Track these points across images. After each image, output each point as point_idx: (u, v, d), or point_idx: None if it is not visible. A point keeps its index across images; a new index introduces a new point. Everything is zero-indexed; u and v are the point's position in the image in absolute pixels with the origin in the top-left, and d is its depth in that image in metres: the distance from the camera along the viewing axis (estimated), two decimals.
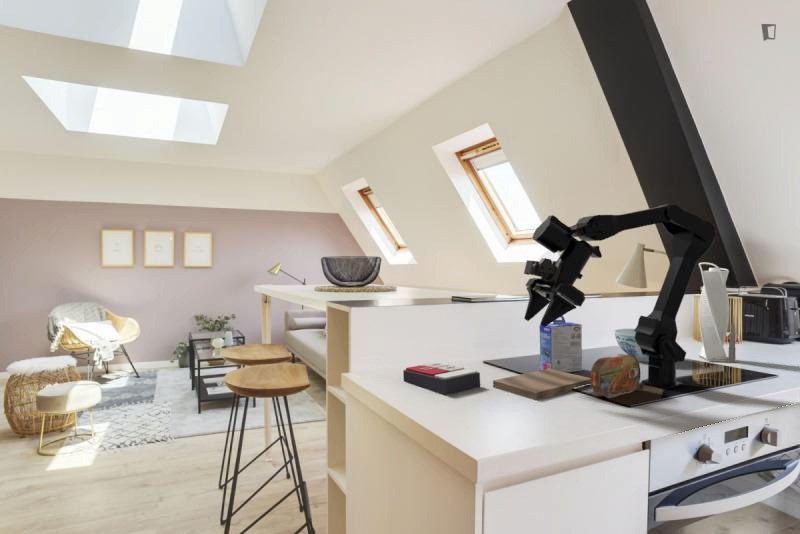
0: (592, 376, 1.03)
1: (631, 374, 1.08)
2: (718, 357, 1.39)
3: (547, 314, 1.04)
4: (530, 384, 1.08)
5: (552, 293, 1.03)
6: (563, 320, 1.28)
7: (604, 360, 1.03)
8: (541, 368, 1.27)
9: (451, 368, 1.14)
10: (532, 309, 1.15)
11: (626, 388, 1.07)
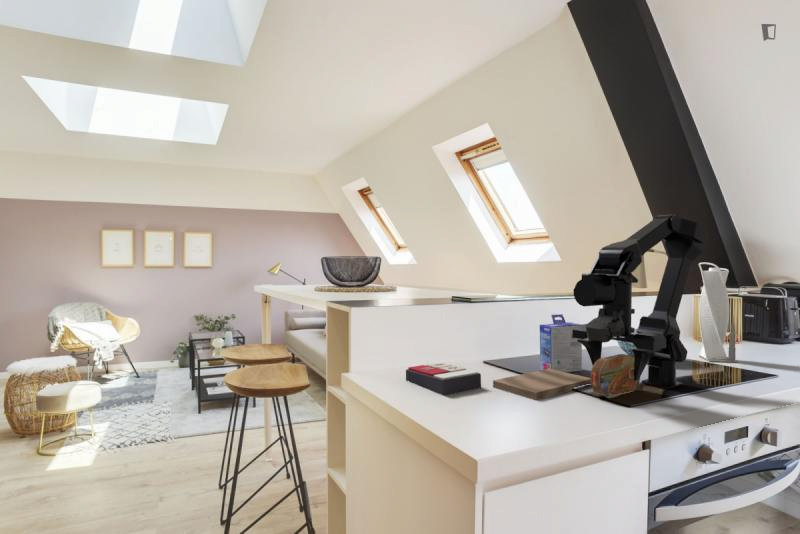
0: (592, 376, 1.03)
1: (631, 374, 1.08)
2: (718, 357, 1.39)
3: (639, 369, 1.01)
4: (530, 384, 1.08)
5: (640, 351, 0.99)
6: (563, 320, 1.28)
7: (604, 360, 1.03)
8: (541, 368, 1.27)
9: (453, 368, 1.14)
10: (597, 358, 1.10)
11: (626, 388, 1.07)
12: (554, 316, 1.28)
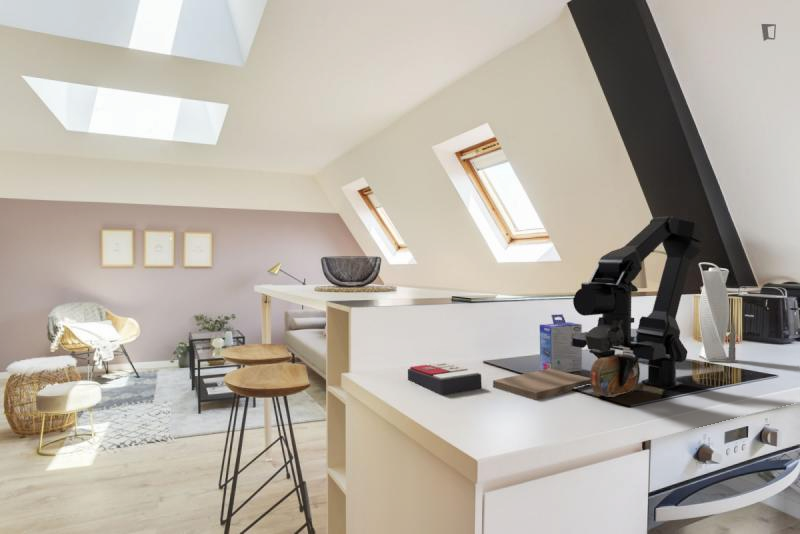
0: (592, 376, 1.03)
1: (631, 374, 1.08)
2: (718, 357, 1.39)
3: (624, 375, 1.04)
4: (530, 384, 1.08)
5: (625, 358, 1.01)
6: (563, 320, 1.28)
7: (604, 360, 1.03)
8: (541, 368, 1.27)
9: (454, 369, 1.14)
10: None
11: (626, 388, 1.07)
12: (554, 316, 1.28)
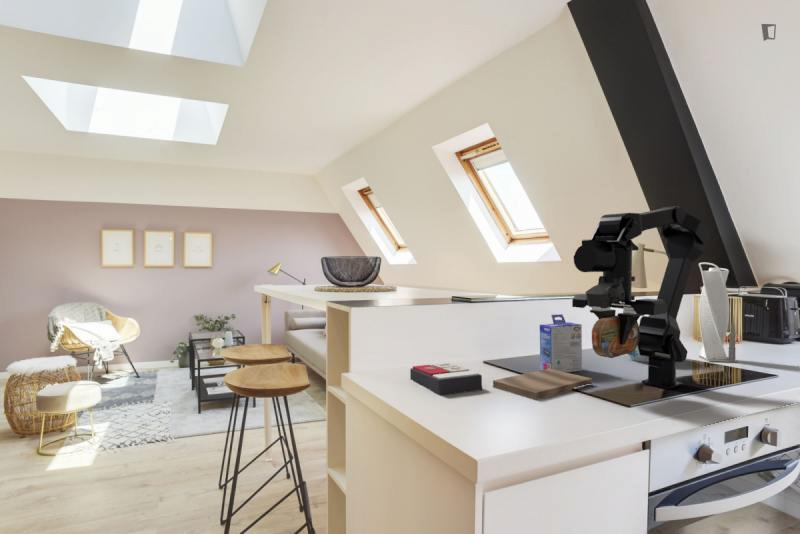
0: (593, 336, 1.02)
1: (631, 334, 1.08)
2: (718, 357, 1.39)
3: (624, 333, 1.04)
4: (530, 384, 1.08)
5: (625, 315, 1.01)
6: (563, 320, 1.28)
7: (605, 320, 1.03)
8: (541, 368, 1.27)
9: (455, 369, 1.14)
10: None
11: (626, 348, 1.07)
12: (554, 316, 1.28)
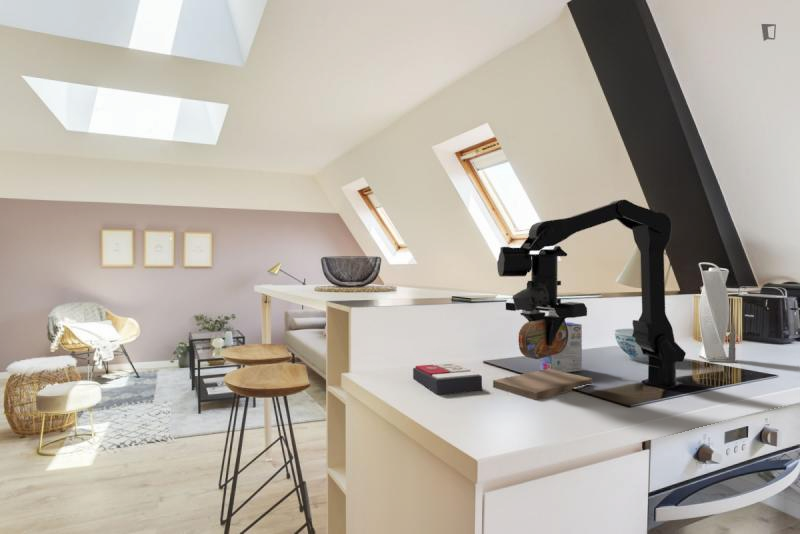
0: (519, 338, 1.08)
1: (559, 336, 1.14)
2: (718, 357, 1.39)
3: (550, 335, 1.10)
4: (530, 384, 1.08)
5: (549, 318, 1.07)
6: None
7: (531, 323, 1.09)
8: (541, 368, 1.27)
9: (456, 369, 1.13)
10: None
11: (554, 350, 1.13)
12: None
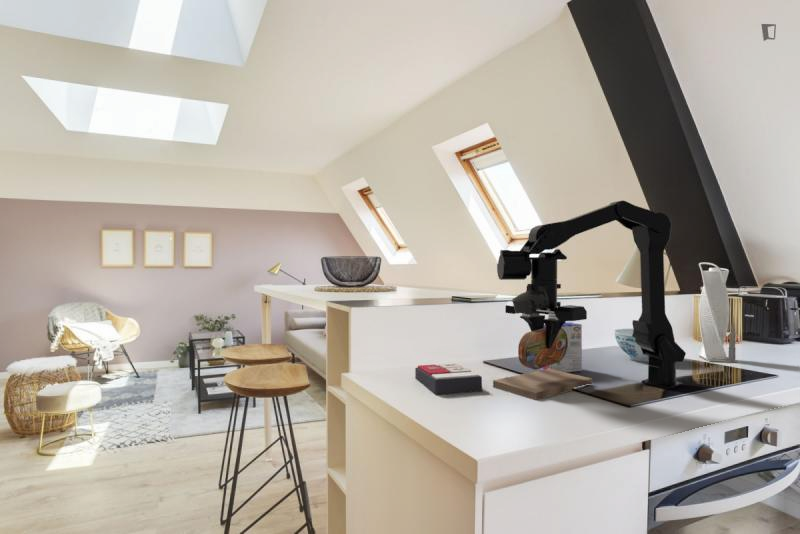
0: (519, 349, 1.08)
1: (559, 345, 1.14)
2: (718, 357, 1.39)
3: (550, 338, 1.10)
4: (530, 384, 1.08)
5: (549, 321, 1.07)
6: None
7: (531, 334, 1.09)
8: (541, 368, 1.27)
9: (457, 370, 1.13)
10: None
11: (553, 359, 1.13)
12: None
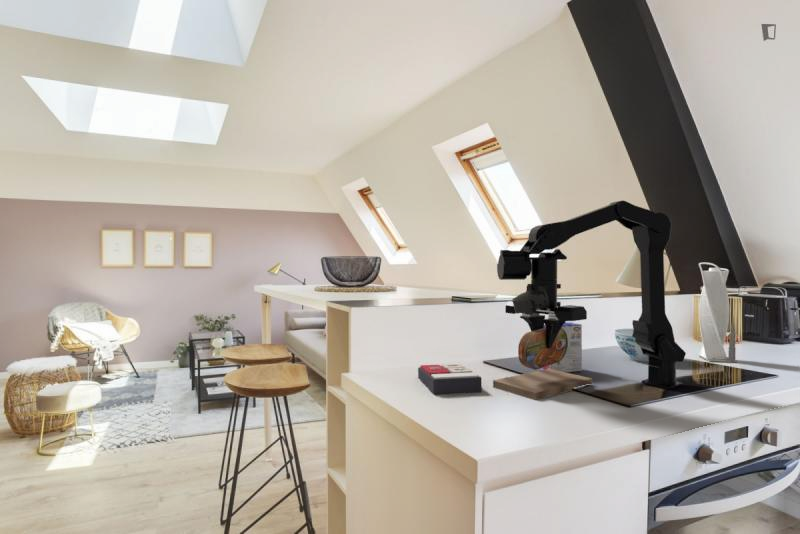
0: (519, 349, 1.08)
1: (559, 345, 1.14)
2: (718, 357, 1.39)
3: (550, 338, 1.10)
4: (530, 384, 1.08)
5: (549, 321, 1.07)
6: None
7: (531, 334, 1.09)
8: (541, 368, 1.27)
9: (458, 370, 1.13)
10: None
11: (553, 359, 1.13)
12: None
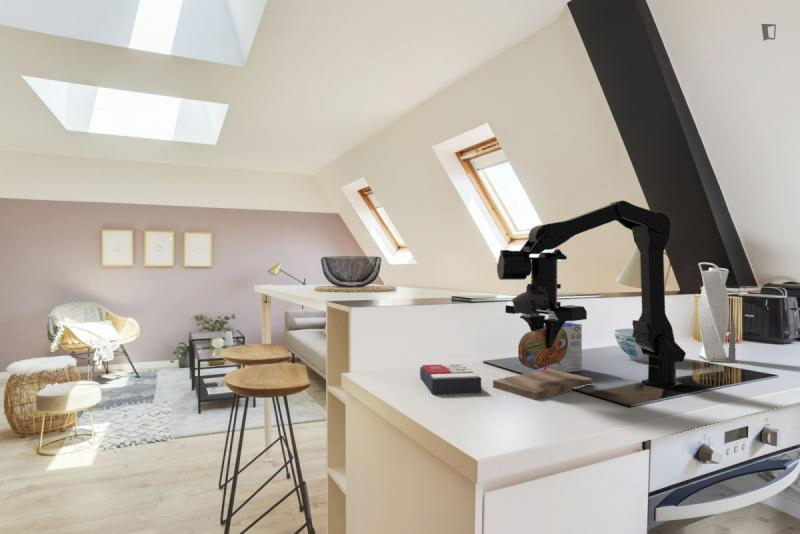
0: (519, 349, 1.08)
1: (559, 345, 1.14)
2: (718, 357, 1.39)
3: (550, 338, 1.10)
4: (530, 384, 1.08)
5: (549, 321, 1.07)
6: None
7: (531, 334, 1.09)
8: (541, 368, 1.27)
9: (459, 370, 1.12)
10: None
11: (553, 359, 1.13)
12: None
